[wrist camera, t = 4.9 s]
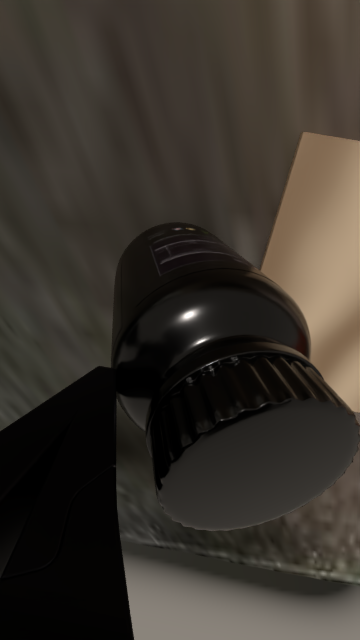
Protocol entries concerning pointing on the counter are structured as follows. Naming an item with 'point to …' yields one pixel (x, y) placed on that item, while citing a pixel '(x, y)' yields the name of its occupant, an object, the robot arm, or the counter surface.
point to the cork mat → (323, 254)
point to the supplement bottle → (222, 383)
